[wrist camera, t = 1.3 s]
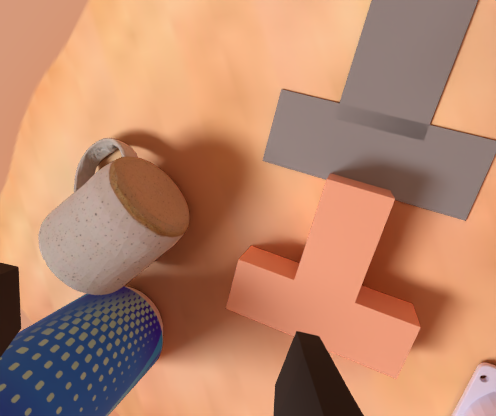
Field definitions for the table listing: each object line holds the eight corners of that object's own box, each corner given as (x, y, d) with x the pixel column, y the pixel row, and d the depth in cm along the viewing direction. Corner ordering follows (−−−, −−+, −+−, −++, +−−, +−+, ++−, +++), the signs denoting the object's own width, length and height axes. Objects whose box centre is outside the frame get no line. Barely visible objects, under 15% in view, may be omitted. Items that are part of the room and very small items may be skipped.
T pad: (465, 220, 21) (465, 220, 21) (262, 160, 24) (262, 160, 24) (558, 13, 18) (559, 12, 18) (312, -26, 21) (311, -26, 21)
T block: (391, 350, 24) (396, 379, 21) (239, 290, 27) (225, 308, 24) (455, 209, 21) (470, 221, 18) (274, 157, 24) (264, 160, 21)
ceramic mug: (211, 220, 26) (157, 249, 19) (145, 274, 29) (76, 315, 22) (132, 115, 27) (50, 103, 20) (75, 177, 30) (-15, 187, 22)
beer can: (77, 315, 32) (-158, 465, 17) (121, 259, 30) (-115, 381, 15) (137, 379, 32) (-55, 593, 17) (188, 328, 29) (11, 530, 14)
